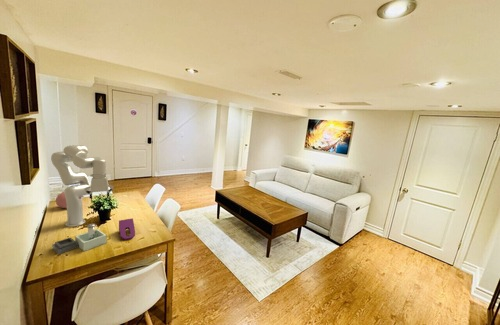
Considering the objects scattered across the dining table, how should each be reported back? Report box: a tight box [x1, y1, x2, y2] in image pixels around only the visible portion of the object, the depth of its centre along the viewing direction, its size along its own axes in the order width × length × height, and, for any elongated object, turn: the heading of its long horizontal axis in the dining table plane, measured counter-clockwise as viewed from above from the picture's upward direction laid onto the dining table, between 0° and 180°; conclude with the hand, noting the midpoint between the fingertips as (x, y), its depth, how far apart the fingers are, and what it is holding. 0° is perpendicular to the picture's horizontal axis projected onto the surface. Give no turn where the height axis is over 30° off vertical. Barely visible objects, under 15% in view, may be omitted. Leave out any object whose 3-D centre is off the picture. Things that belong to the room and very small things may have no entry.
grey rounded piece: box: [86, 223, 96, 241], centre depth 140 cm, size 5×5×13 cm
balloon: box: [55, 192, 85, 209], centre depth 193 cm, size 15×20×15 cm
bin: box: [74, 228, 108, 252], centre depth 140 cm, size 13×13×6 cm
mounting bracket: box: [118, 217, 136, 241], centre depth 156 cm, size 10×8×18 cm
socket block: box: [51, 236, 79, 255], centre depth 133 cm, size 10×10×4 cm
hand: (99, 198), depth 150 cm, fingers open, 9 cm apart
